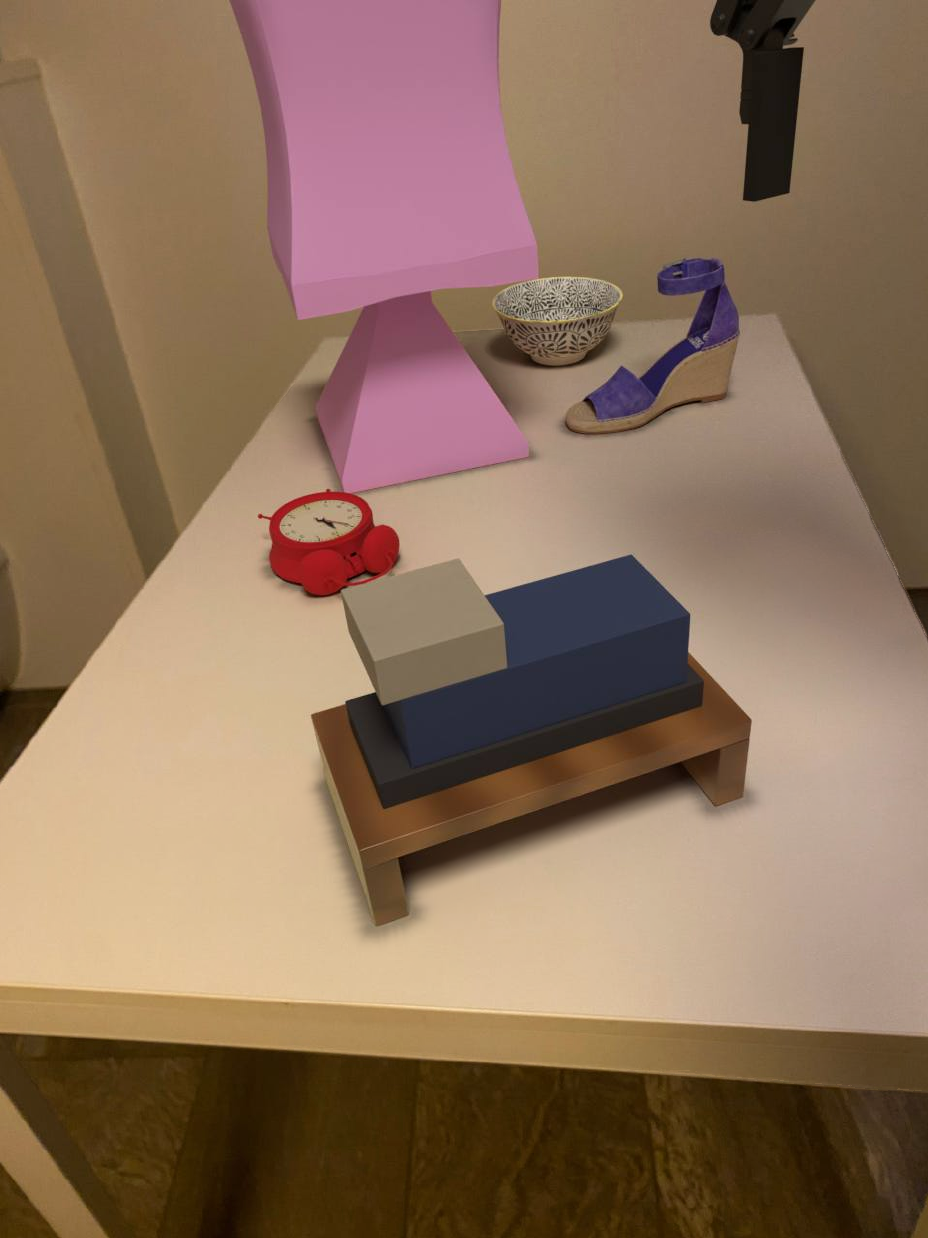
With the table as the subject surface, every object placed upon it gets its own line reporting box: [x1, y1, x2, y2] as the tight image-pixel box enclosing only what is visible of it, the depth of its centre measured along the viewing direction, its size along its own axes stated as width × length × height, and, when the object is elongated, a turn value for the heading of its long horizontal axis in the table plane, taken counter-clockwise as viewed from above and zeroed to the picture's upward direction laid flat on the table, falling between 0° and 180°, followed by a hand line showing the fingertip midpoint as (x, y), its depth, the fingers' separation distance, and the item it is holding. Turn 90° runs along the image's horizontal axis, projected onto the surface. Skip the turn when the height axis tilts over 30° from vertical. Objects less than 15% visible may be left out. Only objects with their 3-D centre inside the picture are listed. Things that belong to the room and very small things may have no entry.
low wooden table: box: [310, 651, 753, 927], centre depth 60 cm, size 24×12×6 cm, turn 110°
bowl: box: [491, 276, 624, 367], centre depth 120 cm, size 16×16×8 cm
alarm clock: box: [257, 488, 400, 596], centre depth 85 cm, size 10×6×15 cm
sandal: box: [565, 257, 741, 435], centre depth 102 cm, size 8×20×15 cm, turn 100°
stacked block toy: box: [340, 554, 704, 809], centre depth 55 cm, size 20×8×10 cm, turn 110°
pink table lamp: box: [229, 0, 540, 494], centre depth 93 cm, size 22×22×45 cm
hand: (884, 210), depth 44 cm, fingers open, 13 cm apart
